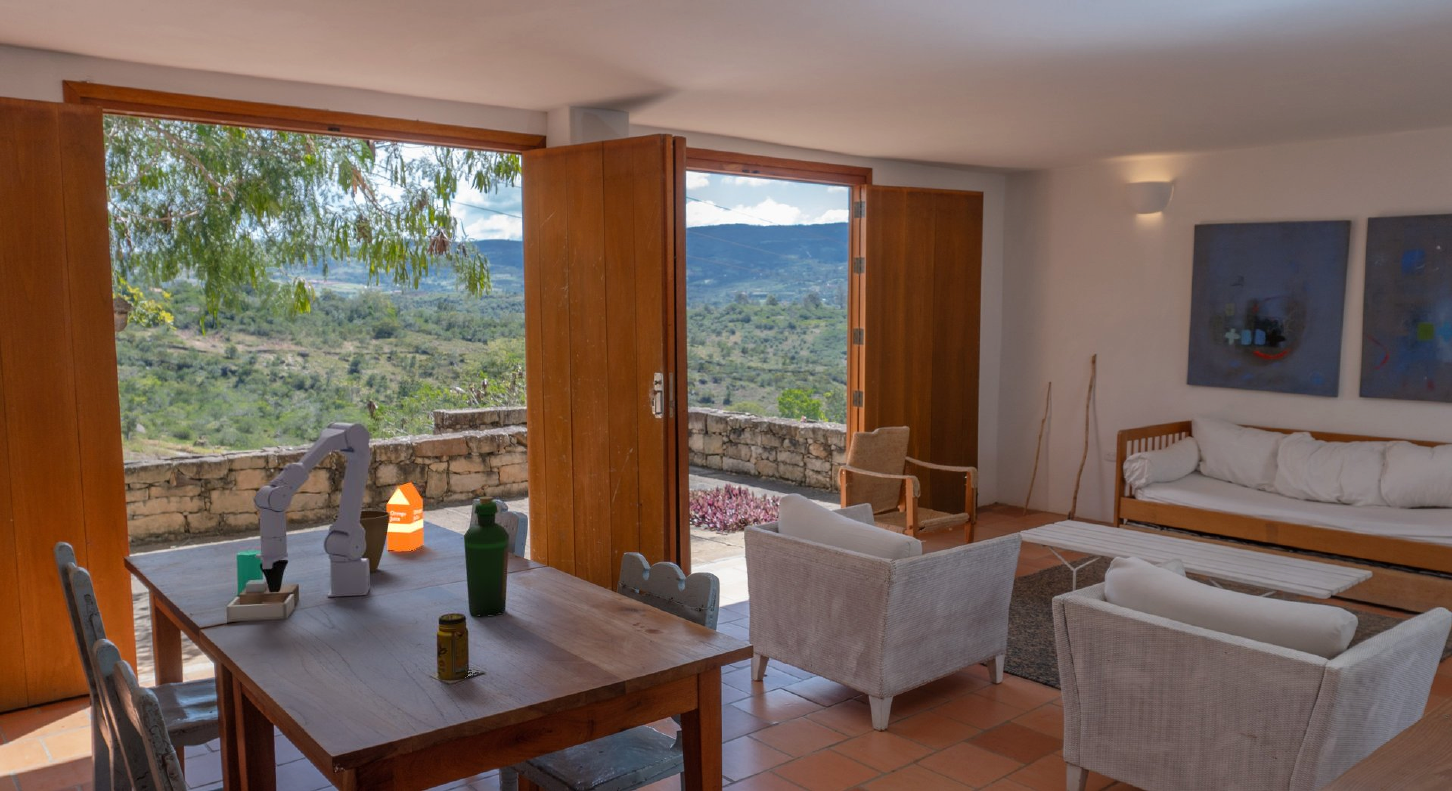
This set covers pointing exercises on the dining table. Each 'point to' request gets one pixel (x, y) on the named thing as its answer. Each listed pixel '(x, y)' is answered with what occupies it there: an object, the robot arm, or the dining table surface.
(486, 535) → the bottle
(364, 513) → the plant pot
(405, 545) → the orange juice
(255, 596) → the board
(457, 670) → the condiment
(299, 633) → the dining table surface
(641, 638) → the dining table surface
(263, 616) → the tray
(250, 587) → the grey rectangular prism
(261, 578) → the candle
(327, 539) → the robot arm
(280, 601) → the tile terracotta
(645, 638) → the dining table surface
